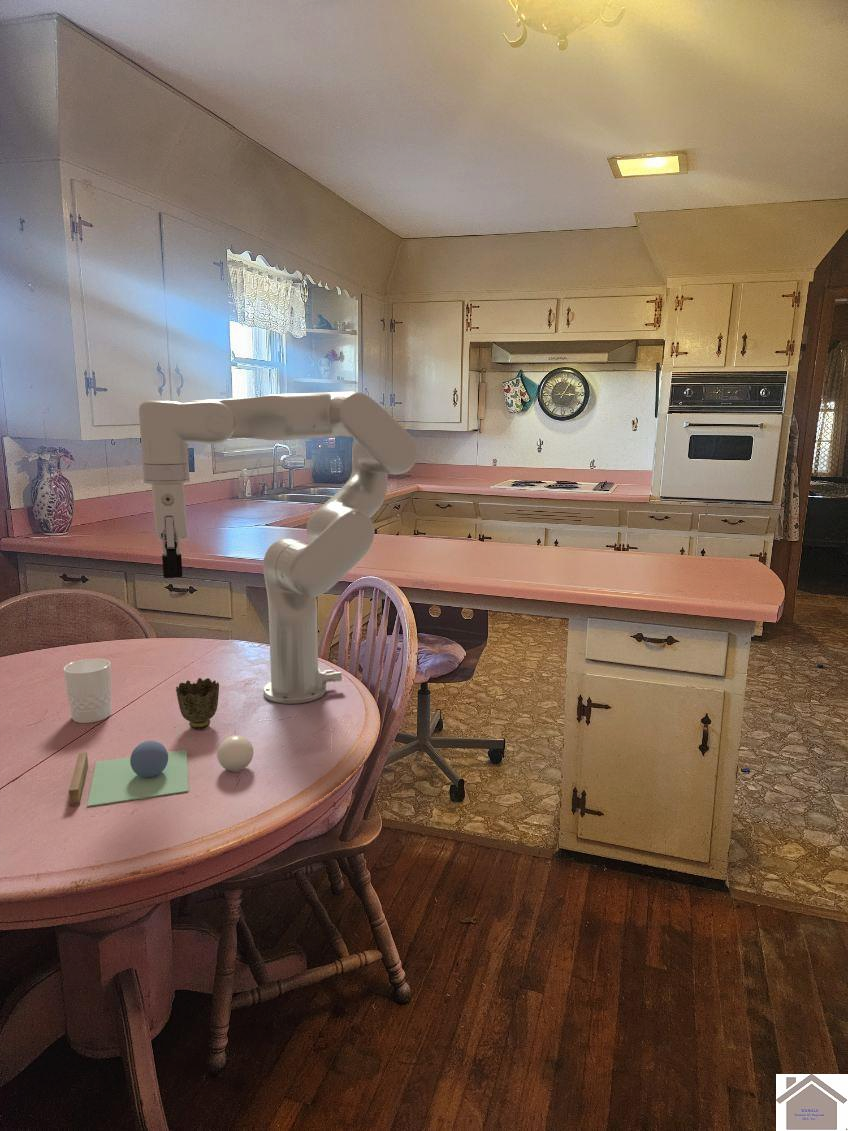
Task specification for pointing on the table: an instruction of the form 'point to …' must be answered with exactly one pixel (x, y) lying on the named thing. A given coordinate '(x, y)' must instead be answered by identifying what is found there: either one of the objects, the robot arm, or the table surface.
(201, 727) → the cup
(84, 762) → the stop rail
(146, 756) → the object ball
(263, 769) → the table surface
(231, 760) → the cream ball
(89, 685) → the white cup
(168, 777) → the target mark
